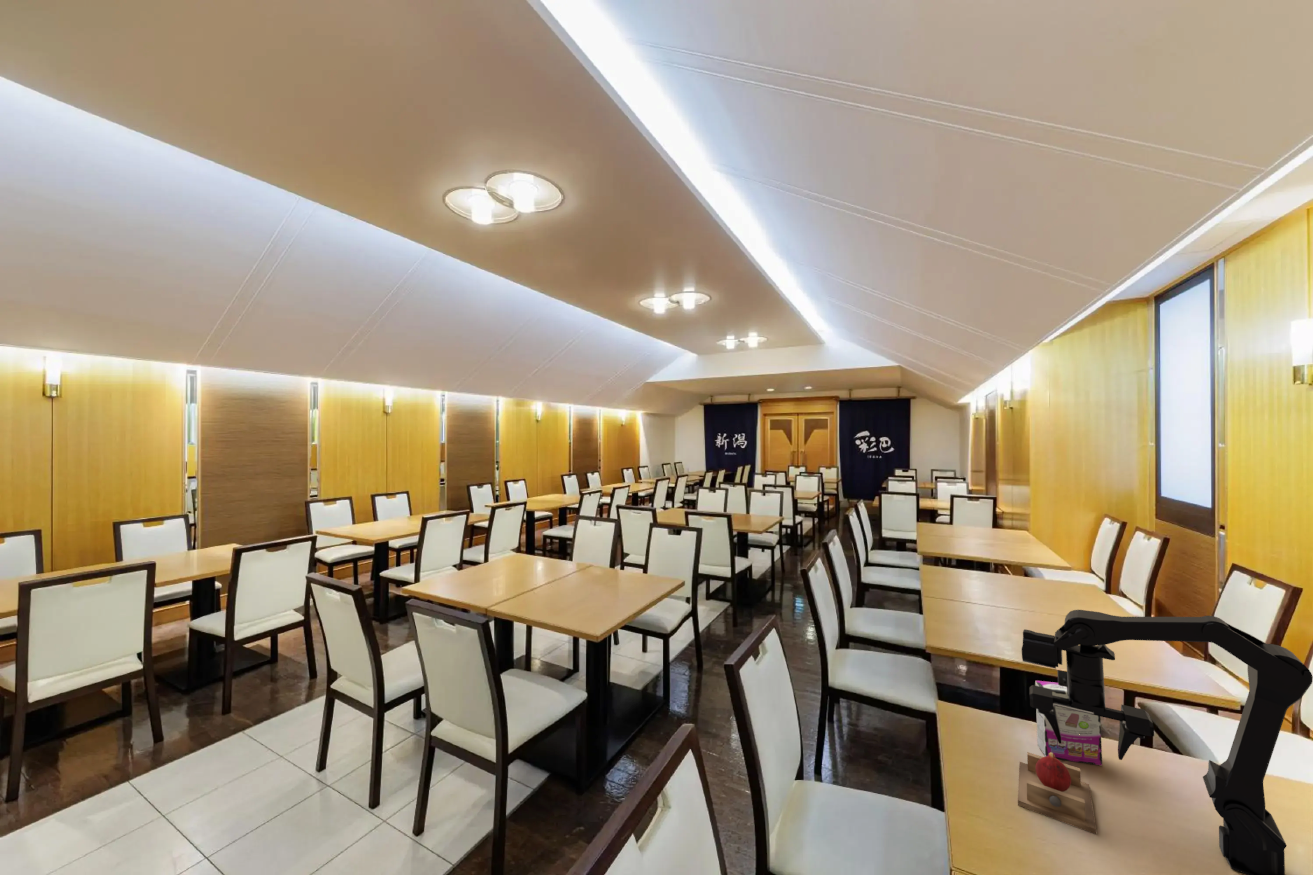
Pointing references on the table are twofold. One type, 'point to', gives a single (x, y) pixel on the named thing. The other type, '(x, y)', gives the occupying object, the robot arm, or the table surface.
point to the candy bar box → (1070, 732)
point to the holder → (1056, 796)
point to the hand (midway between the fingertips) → (1089, 750)
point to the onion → (1053, 773)
